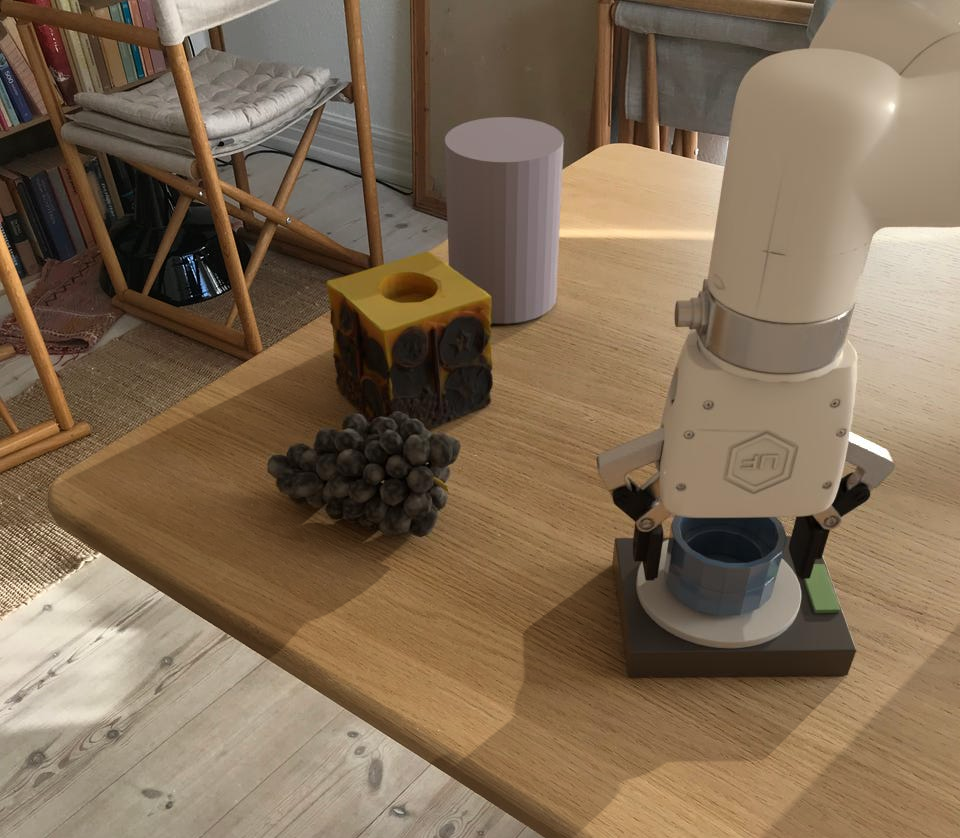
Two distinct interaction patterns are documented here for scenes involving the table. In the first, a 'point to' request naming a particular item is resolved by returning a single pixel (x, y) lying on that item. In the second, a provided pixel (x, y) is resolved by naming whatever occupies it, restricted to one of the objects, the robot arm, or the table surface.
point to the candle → (412, 340)
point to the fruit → (372, 473)
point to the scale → (731, 626)
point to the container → (506, 212)
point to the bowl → (724, 562)
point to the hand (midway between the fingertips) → (723, 565)
